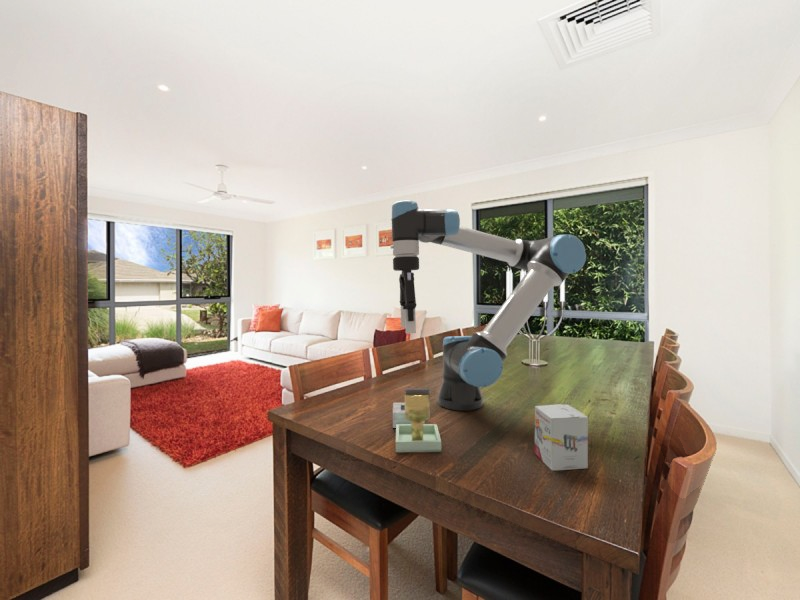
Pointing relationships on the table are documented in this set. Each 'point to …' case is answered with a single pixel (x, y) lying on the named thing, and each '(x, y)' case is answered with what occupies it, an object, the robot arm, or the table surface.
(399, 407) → the silver square block
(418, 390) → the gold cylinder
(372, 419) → the table surface
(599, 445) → the table surface
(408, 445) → the tray
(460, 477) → the table surface
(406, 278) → the robot arm
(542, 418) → the ink box
